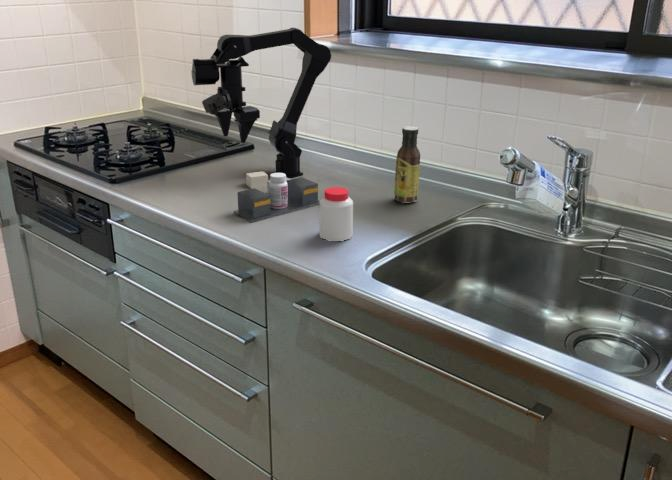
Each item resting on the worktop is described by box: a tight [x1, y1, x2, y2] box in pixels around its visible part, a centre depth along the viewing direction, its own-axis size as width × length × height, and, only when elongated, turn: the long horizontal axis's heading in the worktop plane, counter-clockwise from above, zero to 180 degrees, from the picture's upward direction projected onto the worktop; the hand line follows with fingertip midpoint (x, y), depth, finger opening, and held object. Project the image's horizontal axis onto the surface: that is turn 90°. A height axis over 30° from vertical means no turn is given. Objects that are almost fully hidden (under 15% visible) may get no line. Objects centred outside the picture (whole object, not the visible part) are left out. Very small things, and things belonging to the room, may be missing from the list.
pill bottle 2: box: [319, 186, 354, 241], centre depth 155 cm, size 8×8×11 cm
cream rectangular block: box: [245, 171, 269, 189], centre depth 190 cm, size 5×4×4 cm
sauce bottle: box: [393, 125, 421, 203], centre depth 176 cm, size 6×6×20 cm
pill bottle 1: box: [269, 172, 288, 209], centre depth 172 cm, size 5×5×8 cm
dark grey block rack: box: [233, 176, 321, 224], centre depth 172 cm, size 22×8×6 cm, turn 130°
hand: (234, 139), depth 190 cm, fingers open, 9 cm apart
